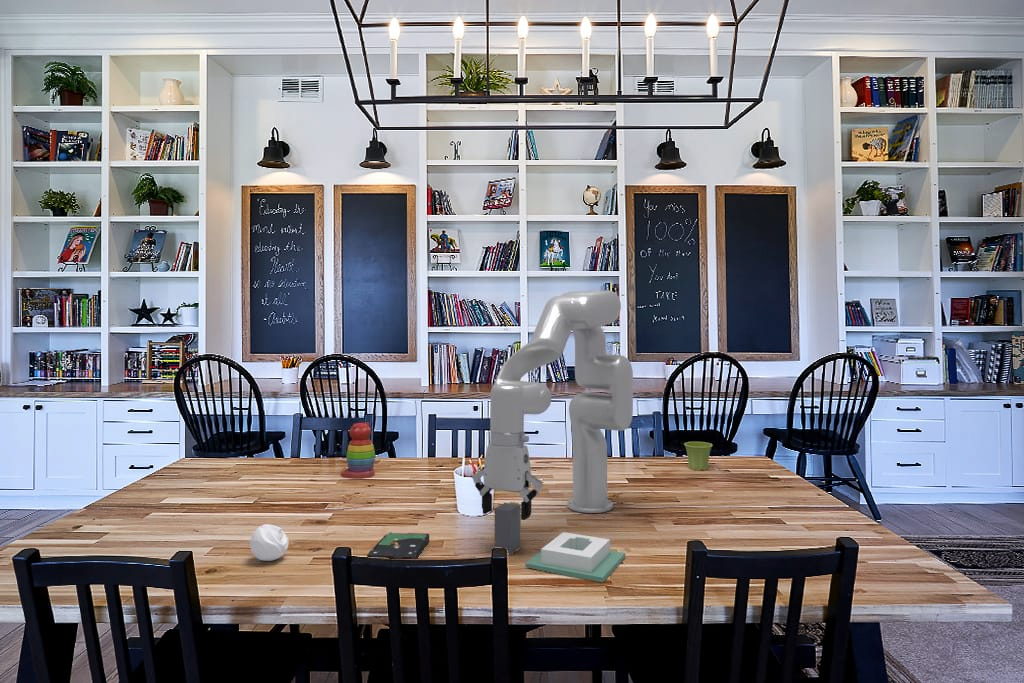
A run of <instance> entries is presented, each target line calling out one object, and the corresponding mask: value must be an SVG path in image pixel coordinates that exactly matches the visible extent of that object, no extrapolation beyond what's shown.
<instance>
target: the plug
mask: <svg viewBox="0 0 1024 683" xmlns="http://www.w3.org/2000/svg"><path fill="white" fill-rule="evenodd" d="M521 520H522V519H521V504H520V503H519V502H516V501H510V502H504V503H502V504H500V505H498V506H497V507H494V548H495V547H502V548H507V550H508V553H509V555H508V556H512V555H513V554H512V553H514V552H515V551H516V550H517V549H519V548H520V547H522V546H521V545H522V544H521V542H522V536H521V535H522V534H521V533H522V532H521V529H522V528H521V525H522V524H521ZM519 550H520V549H519ZM516 552H517V551H516ZM516 552H515V553H516ZM515 553H514V554H515Z"/></svg>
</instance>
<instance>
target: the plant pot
mask: <svg viewBox="0 0 1024 683" xmlns="http://www.w3.org/2000/svg"><path fill="white" fill-rule="evenodd" d="M683 445H684V446H685V449H686V454H687V456H686V457H687V462H688V468H689V469H691V470H693V471H699V472H700V471H702V470H703V471H706V470H708V468H709V461H710V455H711V454H710V453H711V451H712V447H713V444H712V443H710V442H705V441H688V442H685V443H684V444H683Z"/></svg>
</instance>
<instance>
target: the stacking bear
mask: <svg viewBox="0 0 1024 683" xmlns="http://www.w3.org/2000/svg"><path fill="white" fill-rule="evenodd" d="M348 433H349V436H350V438H351V440H350V441H349V444H348V447H347V451H346V456H345V457H346V463H347V468H346V469H344V470H341V473H340V475H341V477H343V478H346V479H347V478H348V479H356V480H357V479H358V480H359V479H367V478H371V477H374V476H375V474H376V471H375V469H374V465H375V461H376V460H375V459H376V451H375V447H374V446H375V445H374V444H373V443H372V440H371V439H370V436H371V434H372V432H371V427H370V423H369V422H356V423H354V424H352V426H351V428H350V429H349V432H348Z"/></svg>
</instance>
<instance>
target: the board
mask: <svg viewBox="0 0 1024 683" xmlns="http://www.w3.org/2000/svg"><path fill="white" fill-rule="evenodd" d="M540 550H541V551H539V552H538V553H537V554H535V555H534V556H533V557H531V558H530V559H529V560H527V561H526V562H525V563H524V565H525V567H527V568H526V569H528V568H533V569H537V570H536V571H539V570H542V571H541V572H544V571H547V572H546V573H549V572H551V574H554V573H556V574H555V575H560V574H561V575H560V576H565V575H566V577H570V576H571V578H577V579H581V580H582V579H583V580H586V579H587V580H588V581H593V582H598V583H602V584H603V583H604V582H605V581H606V580H607V578H608V577H609V576H610V575H611V574H612V573H613V572H614V571H615V570H616V568H618V567H619V565H620V564H621V563H622V562H623V561H624V560H625V559H626V552H621V551H615V550H611V539H609V538H603V537H596V536H589V535H584V534H577V533H570V532H565V531H564V532H562V533H560V534H559V535H558V536H556V537H555V538H554V539H553V540H551V541H550V542H549V543H547V544H546V545H545V546H543V547H542V548H541V549H540ZM525 567H524V568H525ZM533 569H532V570H533Z"/></svg>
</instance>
